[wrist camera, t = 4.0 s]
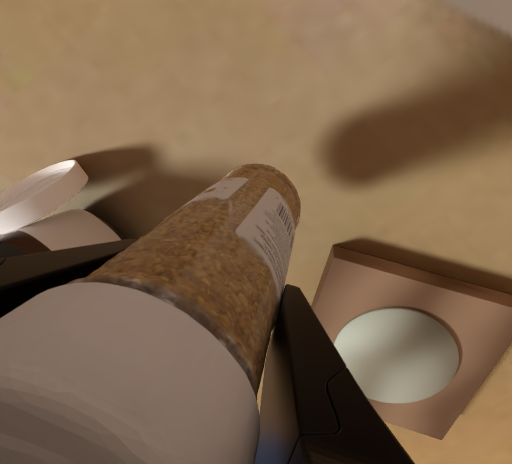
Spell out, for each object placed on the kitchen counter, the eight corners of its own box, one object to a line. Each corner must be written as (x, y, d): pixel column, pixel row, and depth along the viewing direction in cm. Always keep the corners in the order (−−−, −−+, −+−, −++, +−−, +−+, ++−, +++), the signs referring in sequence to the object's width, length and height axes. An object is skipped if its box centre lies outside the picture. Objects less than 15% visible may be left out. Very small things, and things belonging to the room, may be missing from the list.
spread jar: (98, 317, 28) (-37, 440, 18) (2, 226, 27) (-210, 302, 16) (180, 244, 24) (67, 351, 13) (71, 130, 22) (-158, 145, 12)
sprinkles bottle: (220, 154, 15) (-199, 327, 3) (311, 172, 15) (261, 475, 2) (211, 238, 17) (-75, 563, 5) (292, 256, 16) (206, 682, 4)
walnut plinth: (512, 295, 20) (534, 316, 18) (432, 416, 25) (443, 444, 23) (332, 245, 21) (334, 259, 19) (289, 369, 26) (286, 392, 24)
